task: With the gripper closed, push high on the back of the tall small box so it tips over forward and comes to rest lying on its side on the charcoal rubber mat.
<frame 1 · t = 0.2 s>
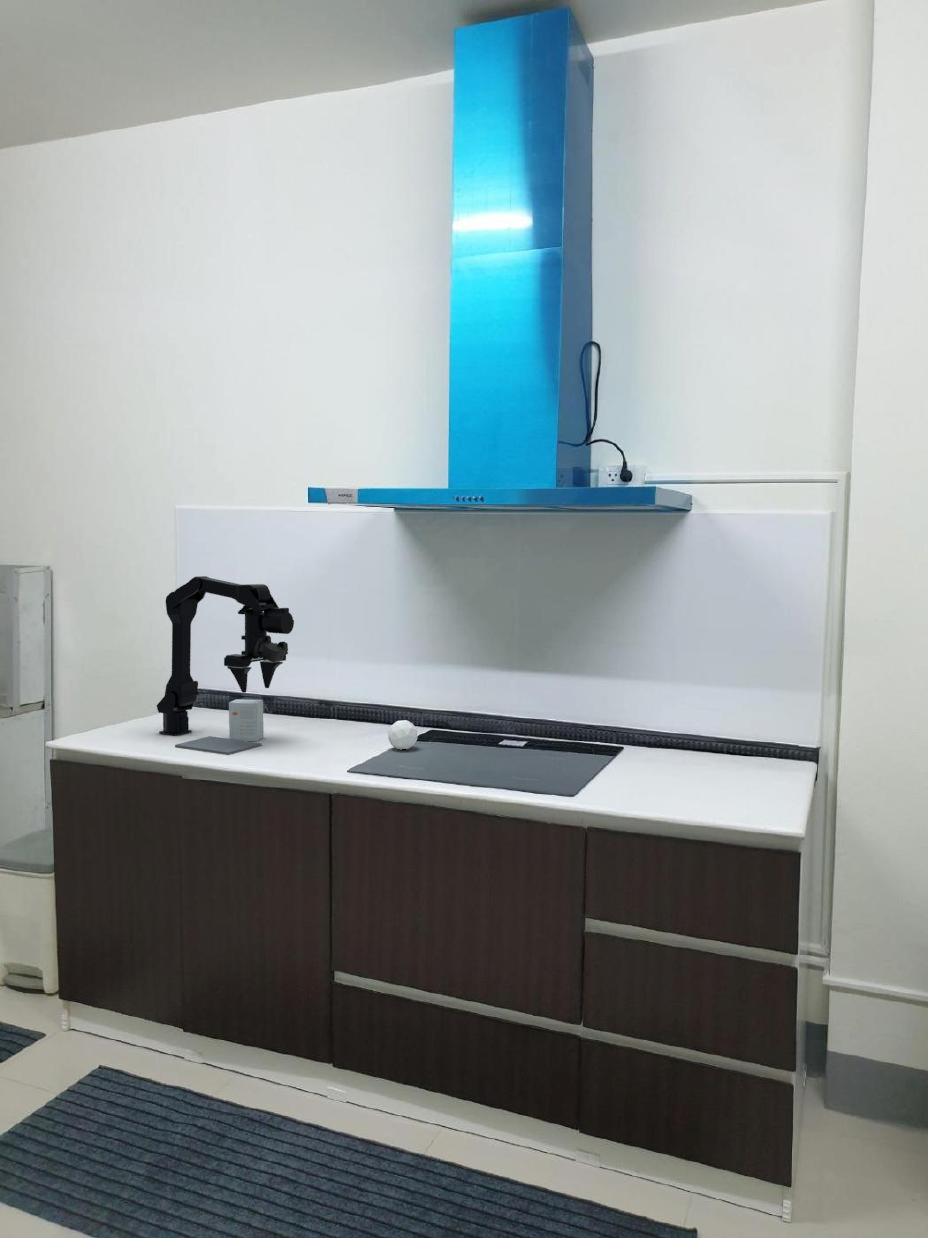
hand: (255, 690, 255), 14 cm above the counter, tool pointing down, fingers open, 9 cm apart
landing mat: (218, 746, 251), on the counter
ball: (402, 749, 251), on the counter
small box: (246, 739, 261), on the counter
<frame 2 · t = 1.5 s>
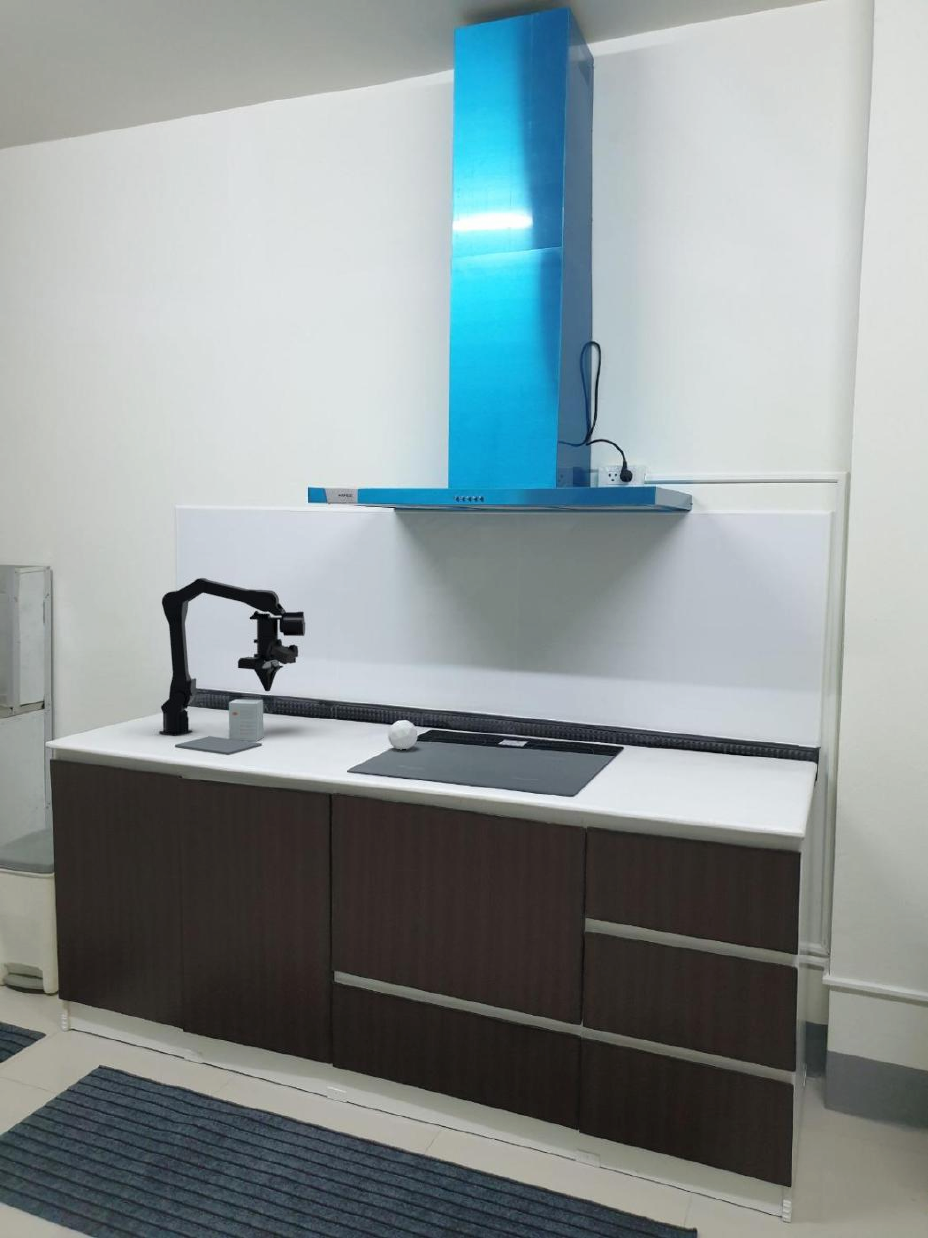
hand: (267, 691, 268), 12 cm above the counter, tool pointing down, fingers closed
nothing on the counter moved.
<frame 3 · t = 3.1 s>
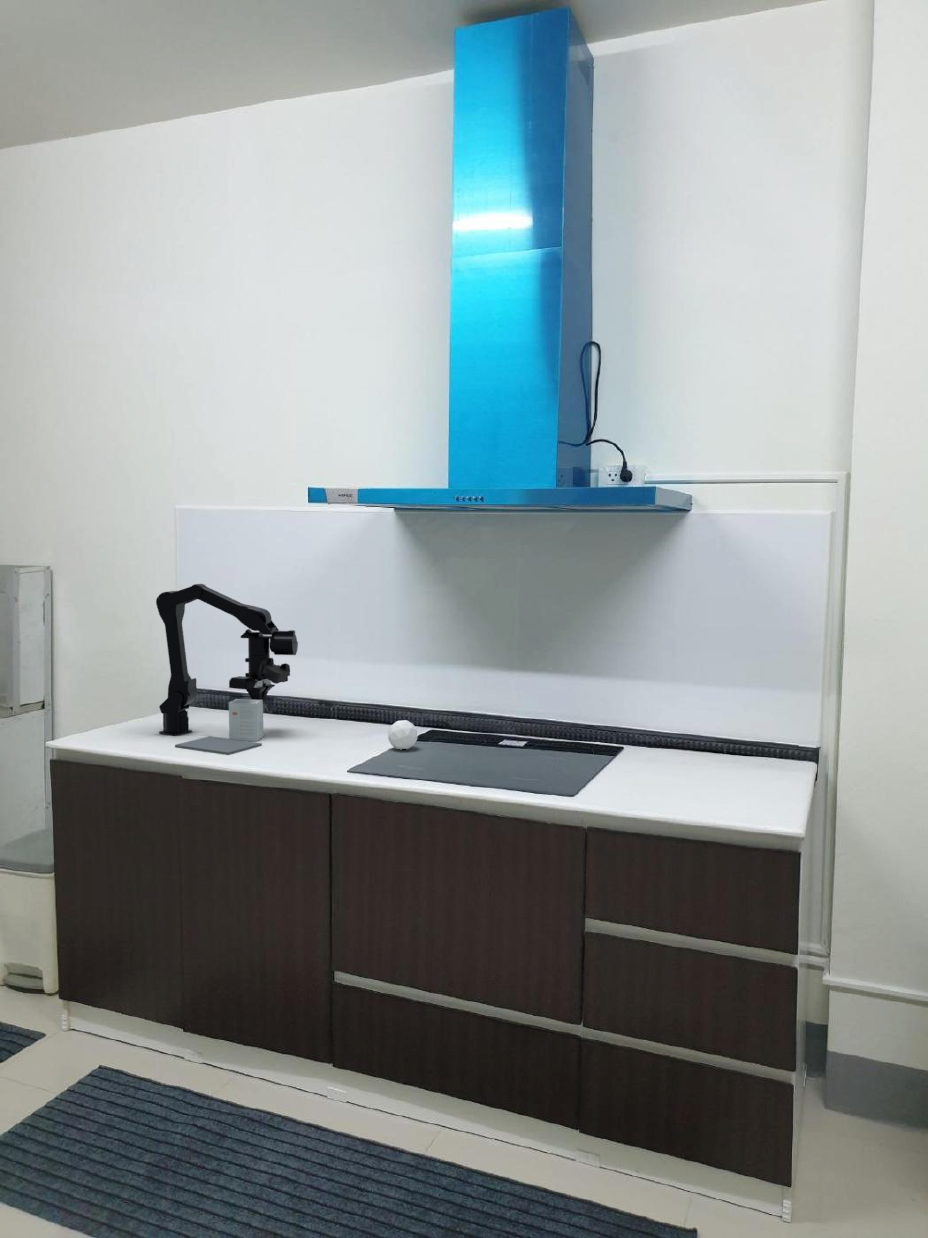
hand: (259, 710, 265), 7 cm above the counter, tool pointing down, fingers closed
small box: (246, 739, 261), on the counter, touching gripper
everything else where it was.
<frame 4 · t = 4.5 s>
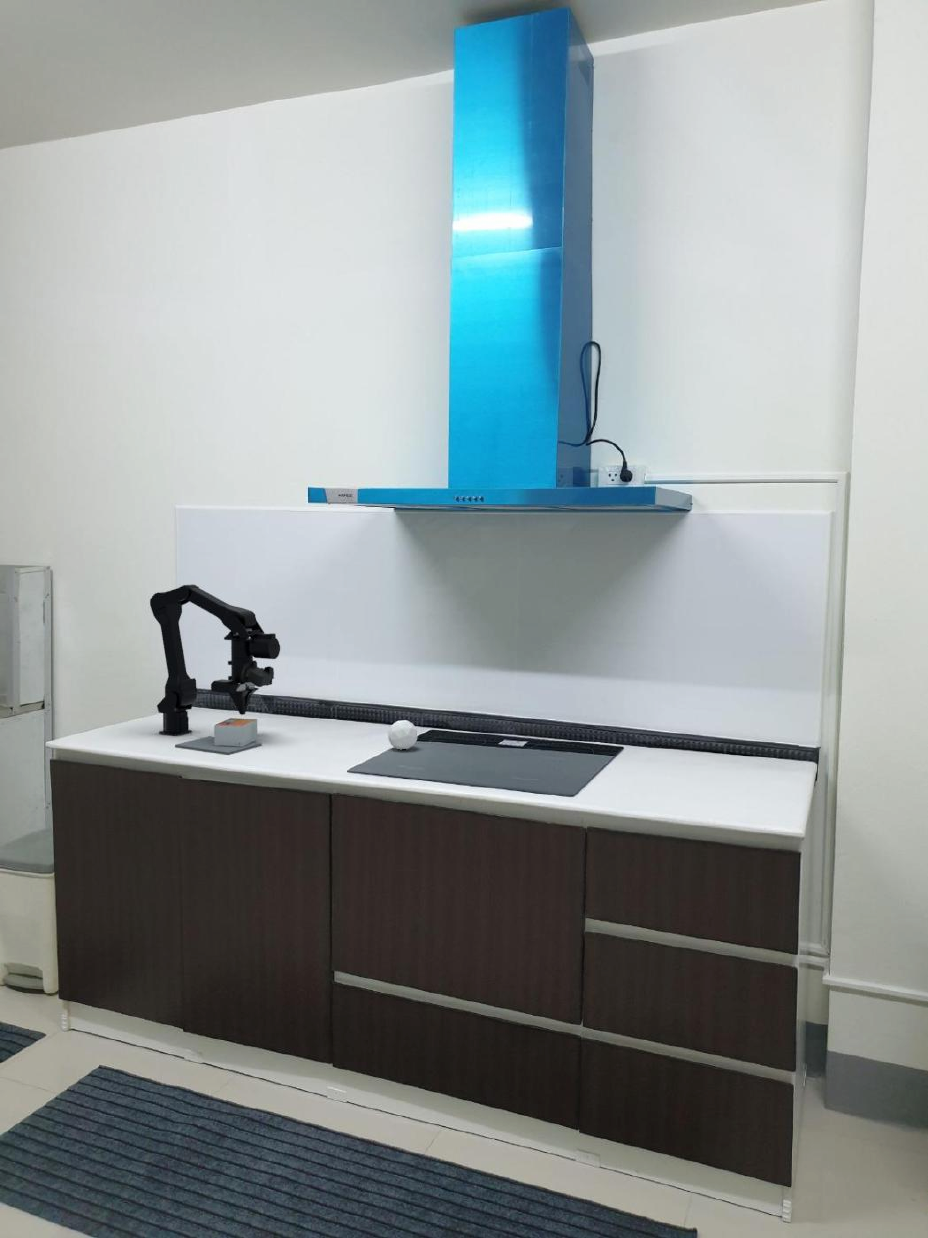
hand: (242, 714, 259), 7 cm above the counter, tool pointing down, fingers closed
small box: (243, 728, 259), point 3 cm above the counter, touching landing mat
everything else where it was.
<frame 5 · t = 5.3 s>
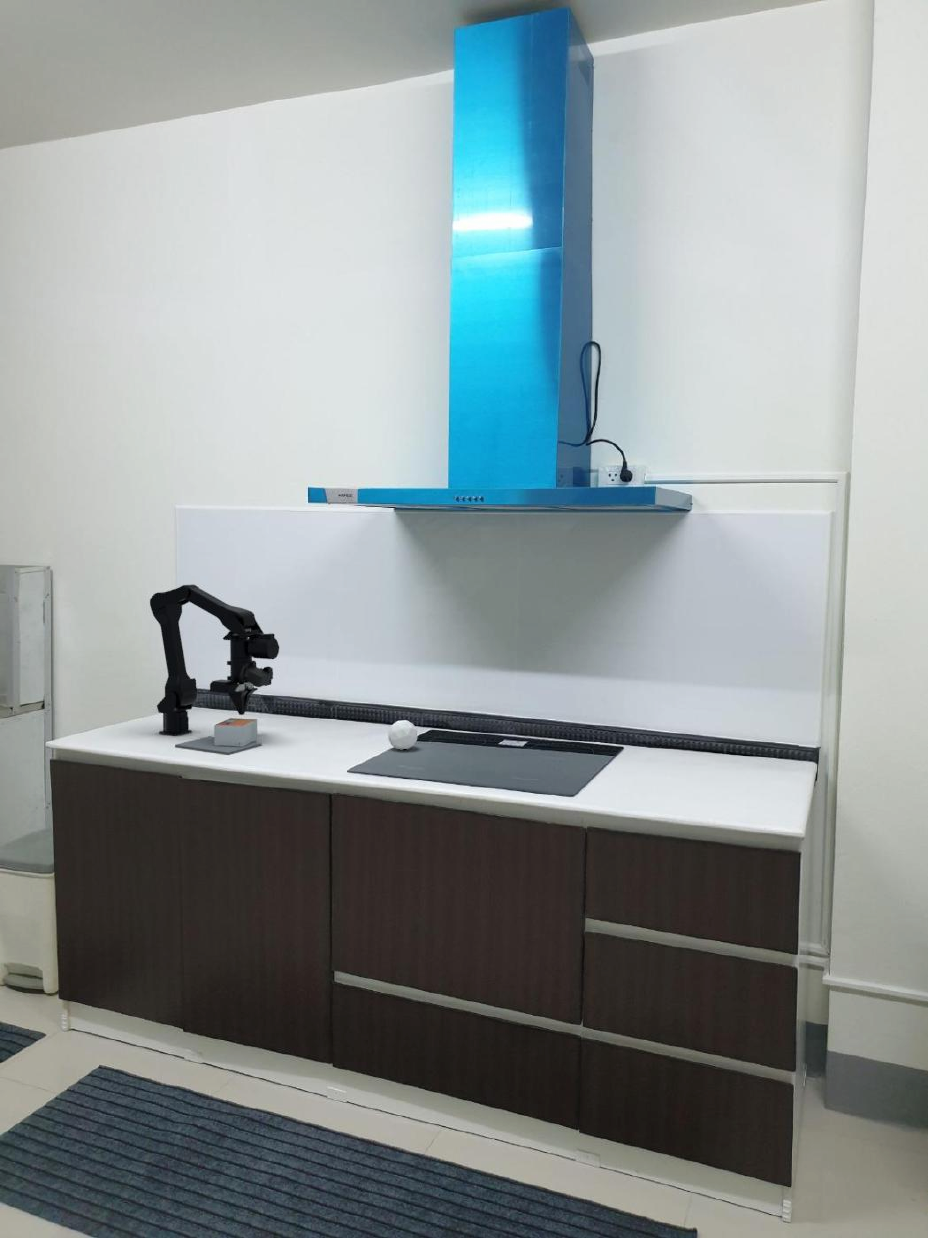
hand: (241, 714, 259), 7 cm above the counter, tool pointing down, fingers closed
nothing on the counter moved.
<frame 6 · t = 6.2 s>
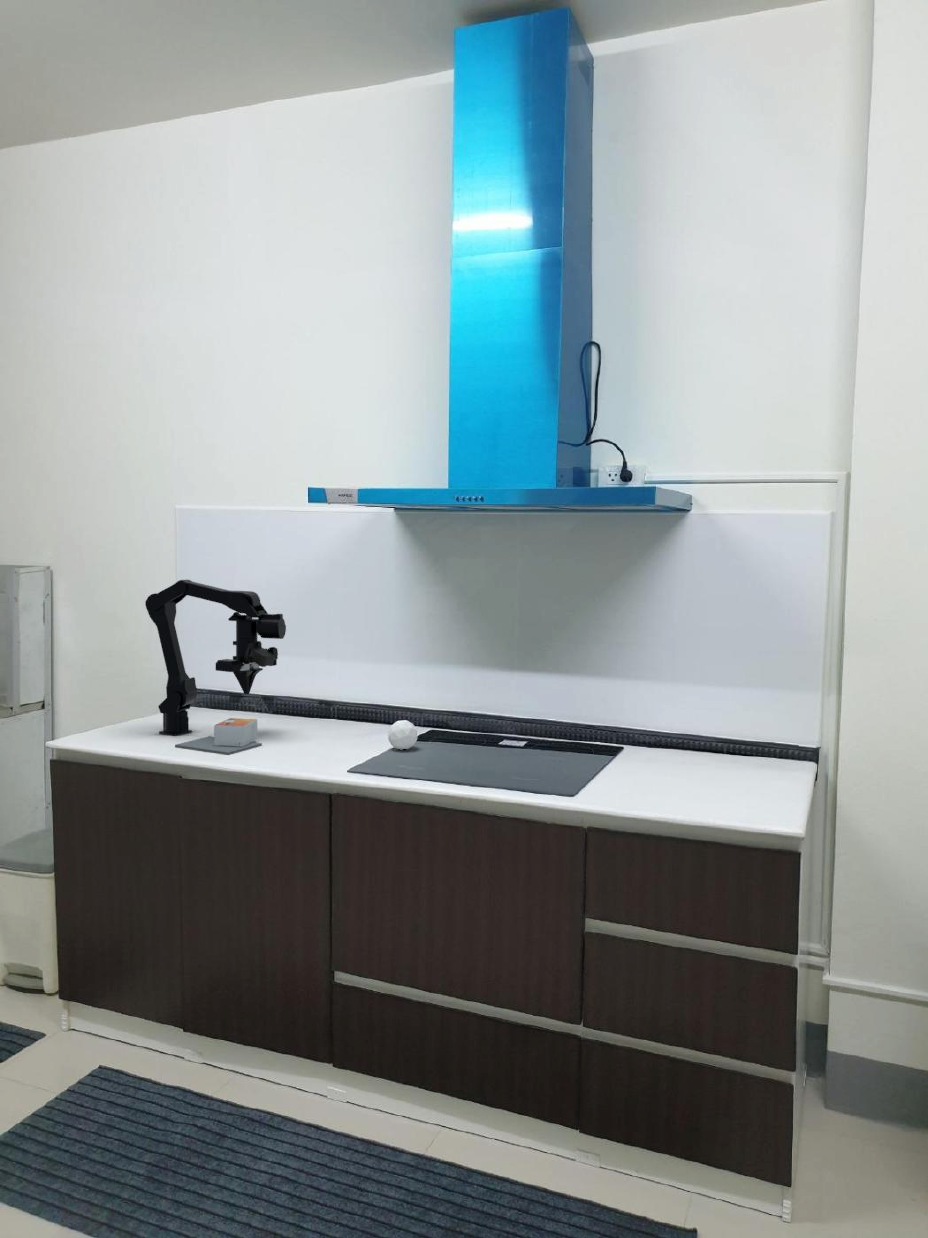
hand: (246, 694, 263), 12 cm above the counter, tool pointing down, fingers closed
nothing on the counter moved.
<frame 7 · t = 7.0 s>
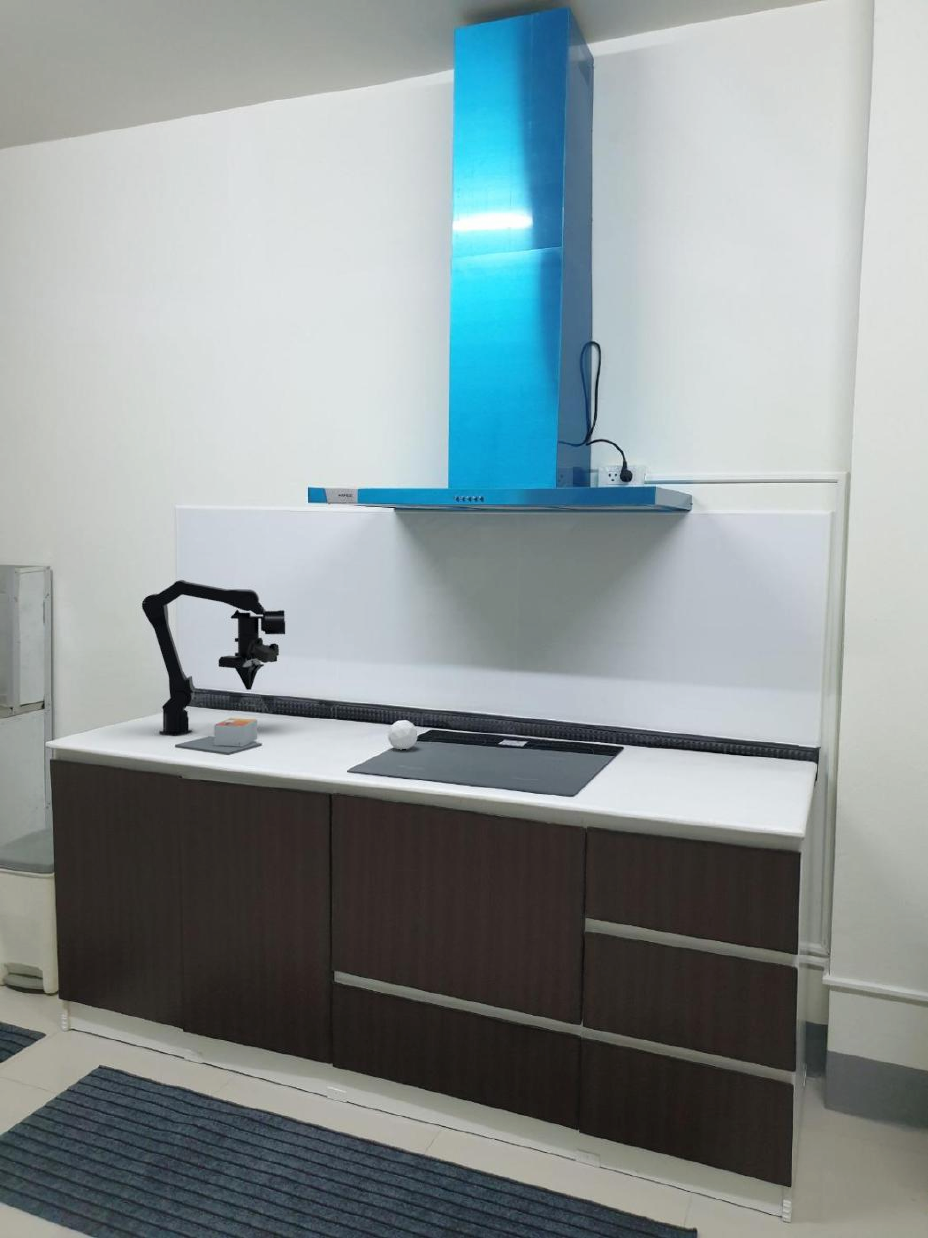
hand: (248, 689, 270), 12 cm above the counter, tool pointing down, fingers closed
nothing on the counter moved.
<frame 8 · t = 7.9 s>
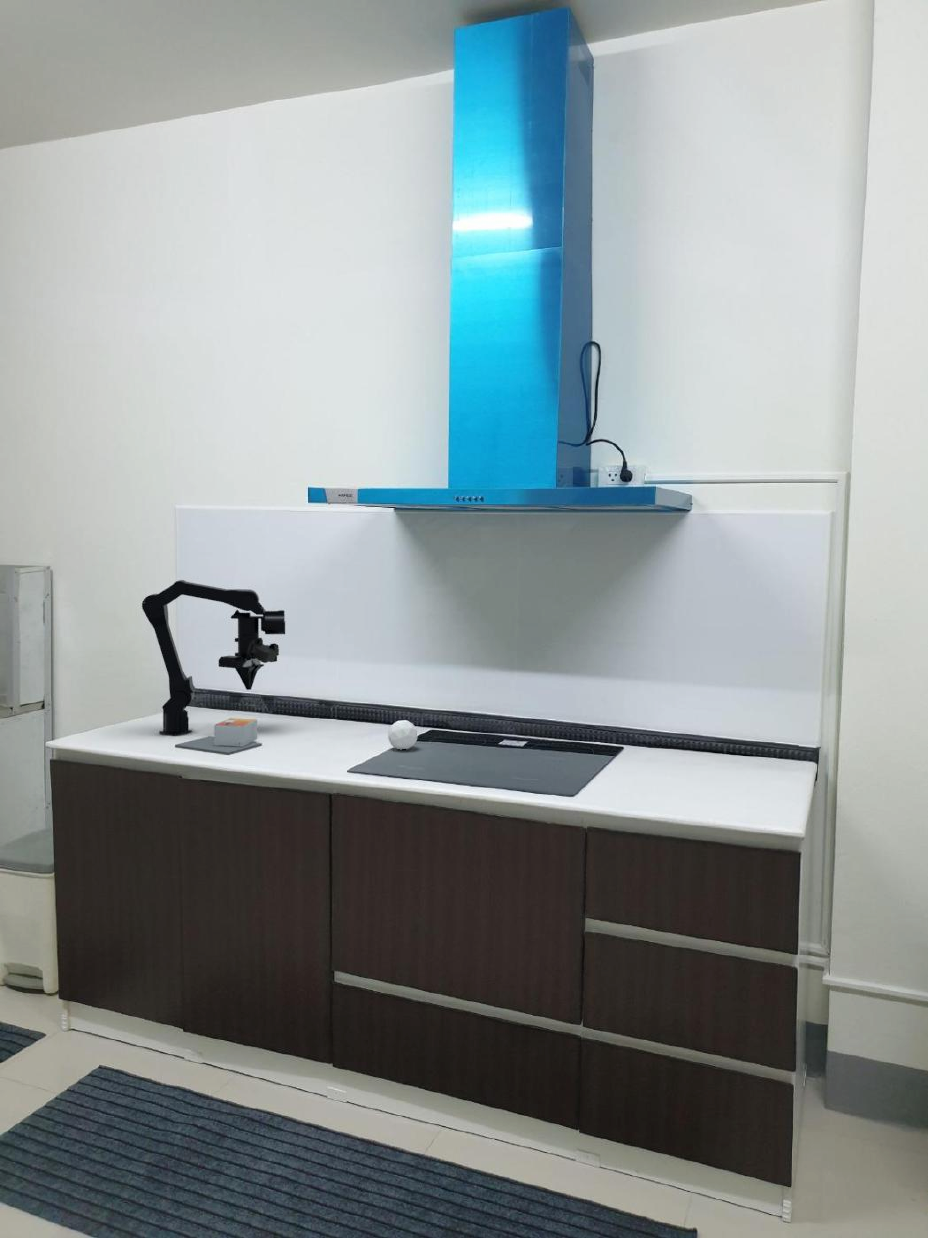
hand: (248, 689, 270), 12 cm above the counter, tool pointing down, fingers closed
nothing on the counter moved.
at the end: small box tilted 90°; small box touching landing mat; the gripper is holding nothing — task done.
